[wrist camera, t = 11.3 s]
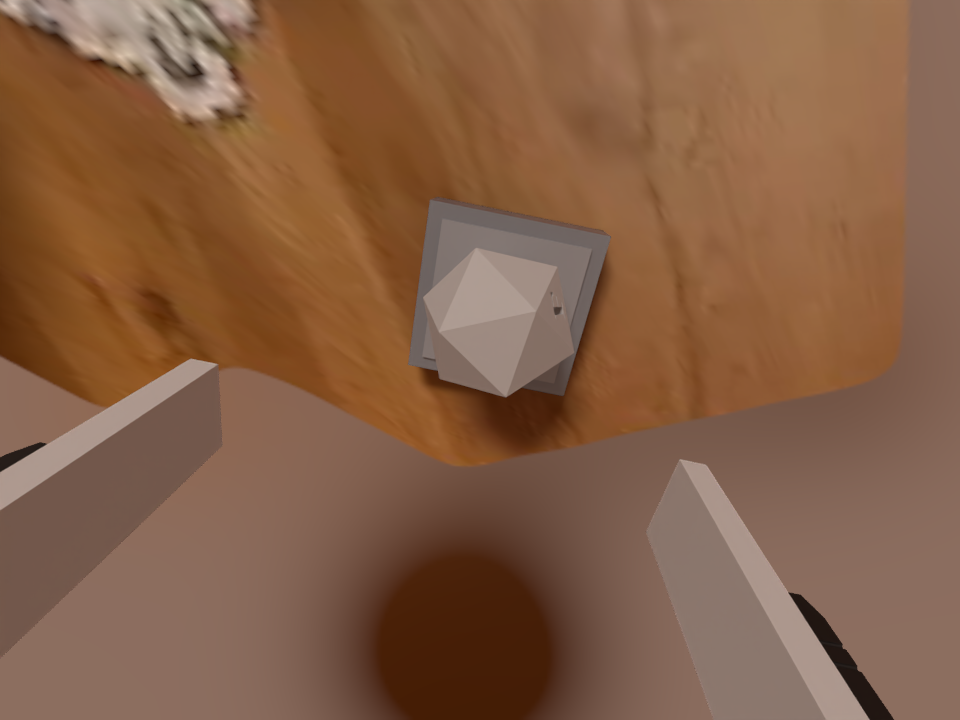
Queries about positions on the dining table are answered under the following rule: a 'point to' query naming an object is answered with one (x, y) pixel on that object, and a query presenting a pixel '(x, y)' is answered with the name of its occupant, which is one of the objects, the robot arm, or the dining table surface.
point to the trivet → (515, 235)
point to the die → (498, 322)
